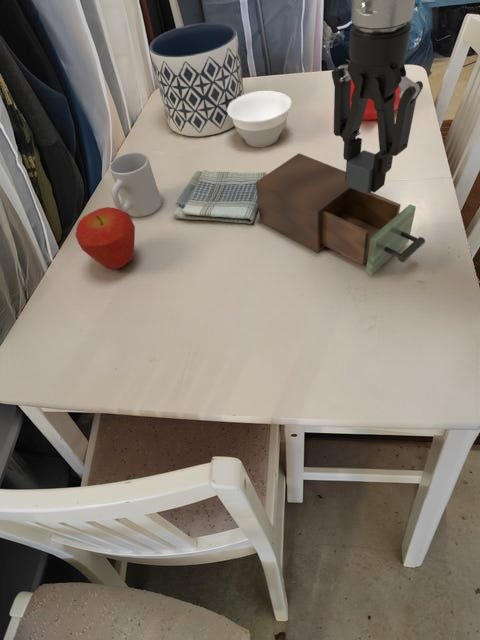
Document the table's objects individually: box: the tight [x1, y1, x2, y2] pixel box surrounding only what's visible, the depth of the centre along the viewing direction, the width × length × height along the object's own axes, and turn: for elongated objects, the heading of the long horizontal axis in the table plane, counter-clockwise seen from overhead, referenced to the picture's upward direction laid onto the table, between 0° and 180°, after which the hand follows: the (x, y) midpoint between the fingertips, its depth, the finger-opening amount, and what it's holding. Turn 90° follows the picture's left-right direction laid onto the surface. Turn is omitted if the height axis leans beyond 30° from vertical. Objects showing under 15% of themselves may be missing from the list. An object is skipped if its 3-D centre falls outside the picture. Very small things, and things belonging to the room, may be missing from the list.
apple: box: [75, 206, 136, 270], centre depth 86 cm, size 11×11×12 cm
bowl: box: [227, 90, 293, 148], centre depth 112 cm, size 16×16×8 cm
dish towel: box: [173, 169, 268, 225], centre depth 99 cm, size 19×18×3 cm
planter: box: [148, 22, 245, 137], centre depth 118 cm, size 22×22×20 cm
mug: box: [109, 152, 163, 218], centre depth 97 cm, size 12×8×11 cm
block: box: [345, 149, 376, 195], centre depth 73 cm, size 4×4×4 cm
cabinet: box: [256, 153, 353, 253], centre depth 87 cm, size 16×13×10 cm
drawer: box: [320, 189, 426, 276], centre depth 80 cm, size 19×11×8 cm, turn 44°
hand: (364, 182), depth 74 cm, fingers closed on block, 4 cm apart
